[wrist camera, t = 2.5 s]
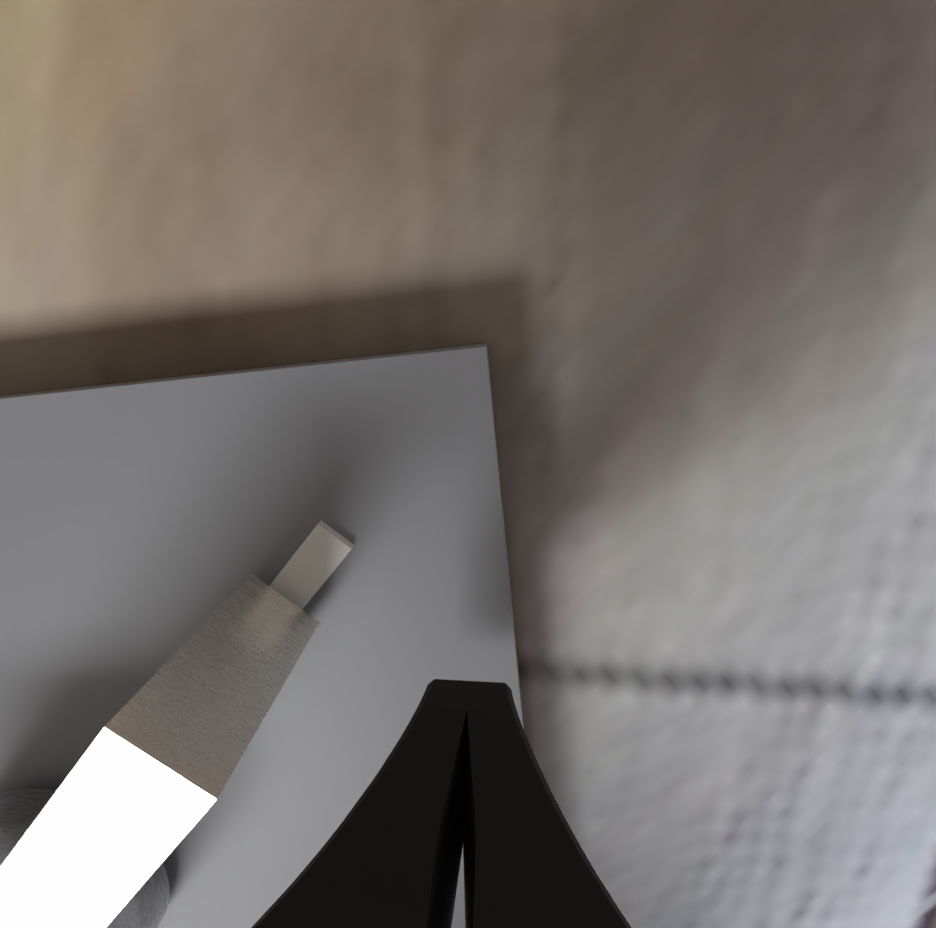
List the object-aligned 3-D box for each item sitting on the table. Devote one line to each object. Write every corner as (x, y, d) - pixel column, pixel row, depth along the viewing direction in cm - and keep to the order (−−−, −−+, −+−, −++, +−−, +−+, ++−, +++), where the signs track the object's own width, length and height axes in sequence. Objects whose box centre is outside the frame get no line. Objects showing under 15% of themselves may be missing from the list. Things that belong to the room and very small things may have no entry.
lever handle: (106, 984, 14) (-55, 1257, 10) (-74, 879, 13) (-327, 1128, 9) (390, 668, 11) (329, 871, 7) (178, 518, 10) (-25, 644, 6)
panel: (557, 1078, 16) (565, 1163, 15) (-104, 1083, 18) (-163, 1159, 16) (487, 342, 11) (486, 346, 9) (-456, 445, 13) (-601, 463, 11)
